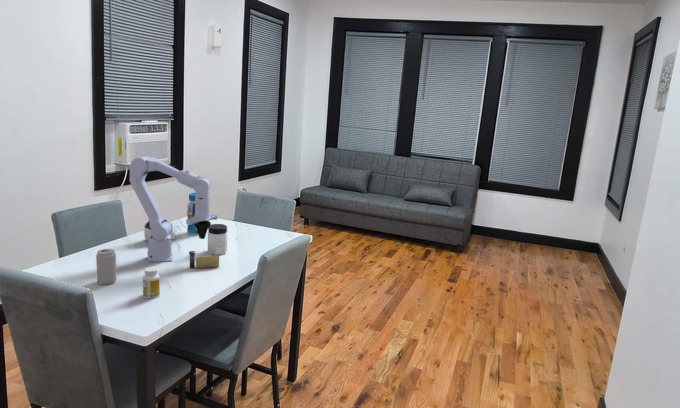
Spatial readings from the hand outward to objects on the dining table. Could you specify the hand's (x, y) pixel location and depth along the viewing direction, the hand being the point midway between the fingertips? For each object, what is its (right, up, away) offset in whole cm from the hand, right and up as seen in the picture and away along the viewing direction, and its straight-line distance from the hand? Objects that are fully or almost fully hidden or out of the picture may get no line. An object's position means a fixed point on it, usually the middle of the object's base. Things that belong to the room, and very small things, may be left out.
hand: (202, 238), depth 204 cm
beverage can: (-27, -14, -26) cm, 41 cm away
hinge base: (+2, -11, -5) cm, 13 cm away
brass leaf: (+4, -11, -5) cm, 13 cm away
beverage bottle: (-15, 0, +40) cm, 42 cm away
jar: (+3, -7, +15) cm, 16 cm away
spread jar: (-26, -3, +24) cm, 36 cm away
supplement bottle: (-8, -18, -35) cm, 40 cm away
